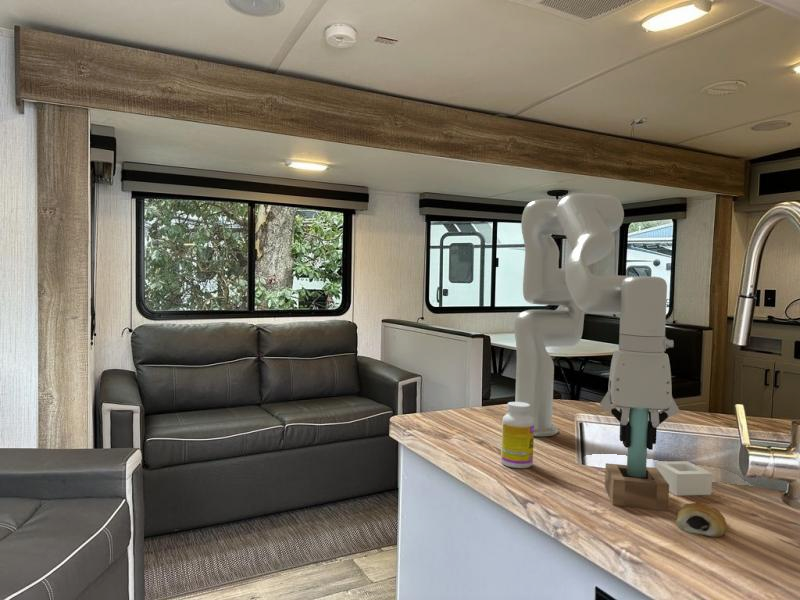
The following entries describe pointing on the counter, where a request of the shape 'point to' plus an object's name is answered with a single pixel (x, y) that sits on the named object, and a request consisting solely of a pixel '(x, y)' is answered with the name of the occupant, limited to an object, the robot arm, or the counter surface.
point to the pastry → (701, 520)
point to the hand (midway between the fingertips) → (637, 445)
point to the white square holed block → (685, 478)
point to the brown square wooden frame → (636, 488)
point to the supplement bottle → (517, 436)
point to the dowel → (637, 443)
